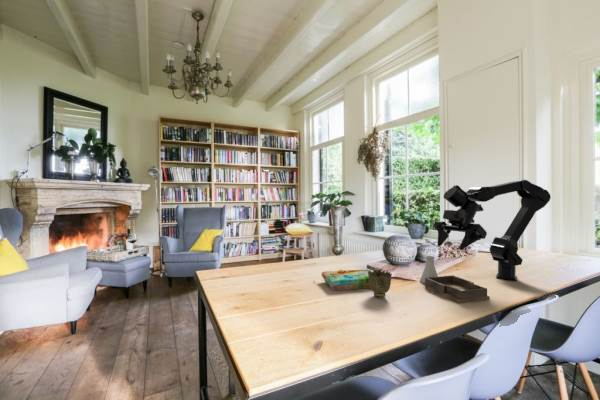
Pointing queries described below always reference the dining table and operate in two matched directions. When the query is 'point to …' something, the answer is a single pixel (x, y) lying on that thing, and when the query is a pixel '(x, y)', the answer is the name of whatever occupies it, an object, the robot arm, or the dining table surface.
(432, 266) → the flask
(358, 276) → the puzzle game
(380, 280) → the cup
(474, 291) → the walnut dock
